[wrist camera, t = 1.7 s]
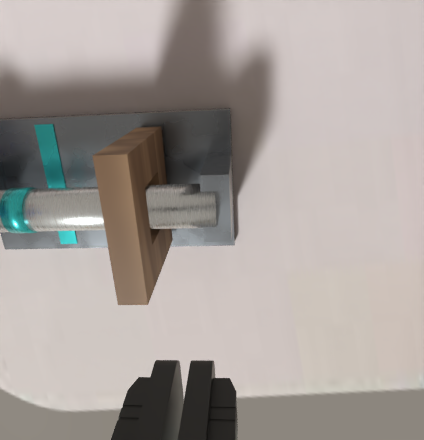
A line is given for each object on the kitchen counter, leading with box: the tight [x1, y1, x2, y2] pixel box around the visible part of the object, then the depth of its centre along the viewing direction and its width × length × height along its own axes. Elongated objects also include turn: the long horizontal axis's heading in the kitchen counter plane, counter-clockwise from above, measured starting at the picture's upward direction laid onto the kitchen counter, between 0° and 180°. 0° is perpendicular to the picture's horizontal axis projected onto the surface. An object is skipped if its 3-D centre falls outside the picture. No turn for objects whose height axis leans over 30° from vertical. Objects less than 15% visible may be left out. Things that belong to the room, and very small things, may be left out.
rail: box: [0, 108, 235, 249], centre depth 31 cm, size 22×12×8 cm, turn 93°
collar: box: [93, 127, 173, 305], centre depth 28 cm, size 2×10×10 cm, turn 3°
